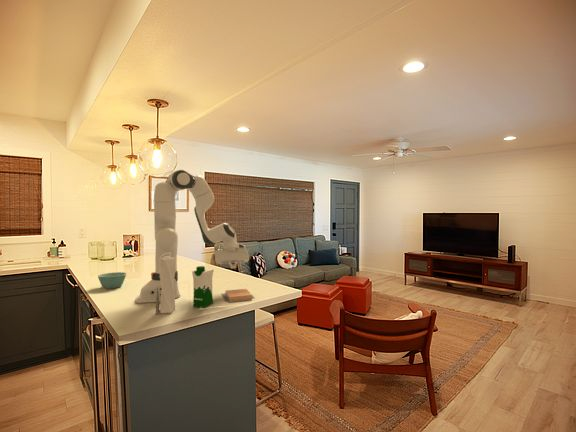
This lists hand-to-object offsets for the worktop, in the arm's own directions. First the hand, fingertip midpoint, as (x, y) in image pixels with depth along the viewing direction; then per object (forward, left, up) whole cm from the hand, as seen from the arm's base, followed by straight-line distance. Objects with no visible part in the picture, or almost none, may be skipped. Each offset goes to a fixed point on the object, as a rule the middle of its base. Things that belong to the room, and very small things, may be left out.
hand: (233, 267), depth 176 cm
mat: (0, -10, -15) cm, 18 cm away
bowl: (-70, +41, -15) cm, 82 cm away
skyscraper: (-36, -22, -15) cm, 45 cm away
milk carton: (-19, -19, -15) cm, 31 cm away
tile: (0, -6, -13) cm, 14 cm away
